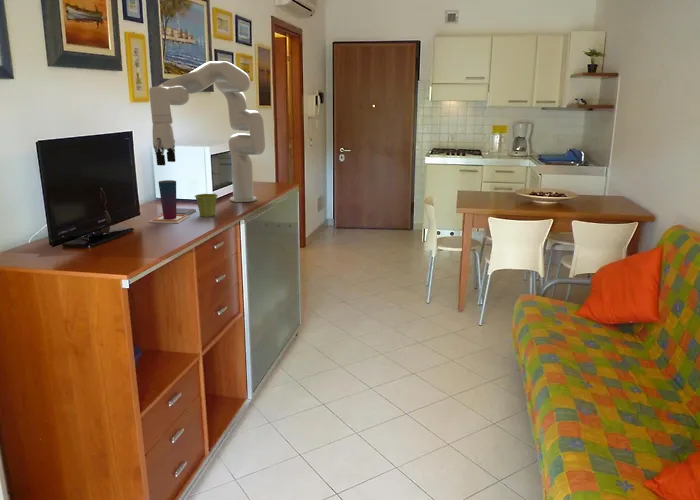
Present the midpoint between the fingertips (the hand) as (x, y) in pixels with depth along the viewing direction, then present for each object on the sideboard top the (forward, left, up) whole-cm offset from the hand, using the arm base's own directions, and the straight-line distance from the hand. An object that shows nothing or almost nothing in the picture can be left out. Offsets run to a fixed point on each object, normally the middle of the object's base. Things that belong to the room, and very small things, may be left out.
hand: (166, 163), depth 225 cm
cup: (0, 0, -22) cm, 22 cm away
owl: (+28, -18, -23) cm, 40 cm away
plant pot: (-9, +12, -23) cm, 28 cm away
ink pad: (-11, -1, -23) cm, 26 cm away
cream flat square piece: (+1, 0, -23) cm, 23 cm away
